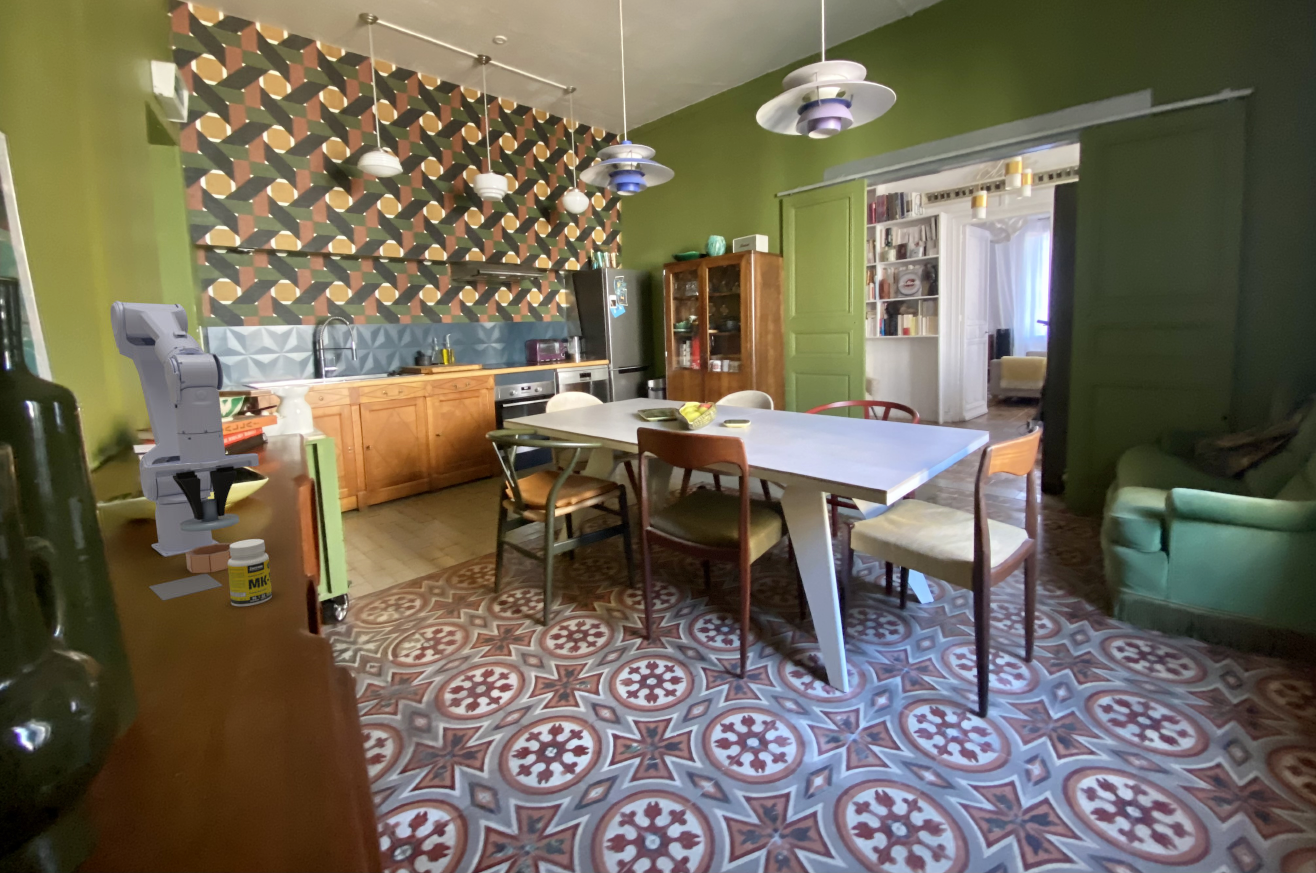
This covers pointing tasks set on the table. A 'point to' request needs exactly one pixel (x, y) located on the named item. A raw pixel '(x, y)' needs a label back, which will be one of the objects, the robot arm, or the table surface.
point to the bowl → (208, 558)
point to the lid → (209, 519)
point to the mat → (185, 586)
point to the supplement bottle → (249, 573)
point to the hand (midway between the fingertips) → (209, 516)
